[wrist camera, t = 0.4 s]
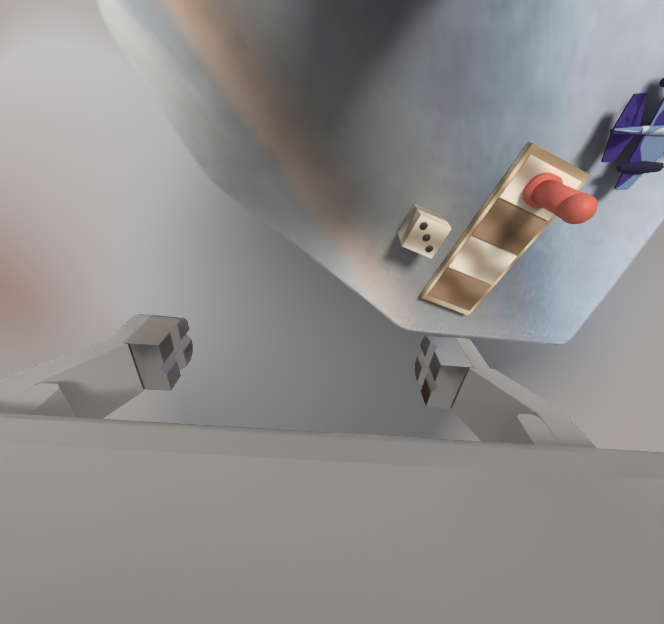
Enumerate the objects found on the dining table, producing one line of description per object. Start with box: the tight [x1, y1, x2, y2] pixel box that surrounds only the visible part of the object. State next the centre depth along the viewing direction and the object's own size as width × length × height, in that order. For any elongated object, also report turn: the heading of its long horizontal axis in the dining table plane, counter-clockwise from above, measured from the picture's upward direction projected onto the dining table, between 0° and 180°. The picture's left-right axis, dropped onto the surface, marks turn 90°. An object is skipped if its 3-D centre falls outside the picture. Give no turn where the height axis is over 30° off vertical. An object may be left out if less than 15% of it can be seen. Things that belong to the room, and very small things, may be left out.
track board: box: [420, 142, 592, 315], centre depth 46 cm, size 26×10×1 cm, turn 158°
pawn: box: [523, 173, 598, 224], centre depth 36 cm, size 4×4×10 cm
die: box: [397, 204, 452, 259], centre depth 43 cm, size 5×5×5 cm
